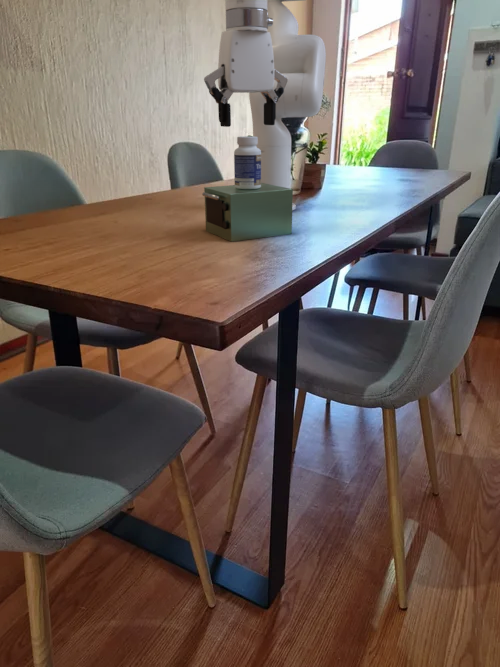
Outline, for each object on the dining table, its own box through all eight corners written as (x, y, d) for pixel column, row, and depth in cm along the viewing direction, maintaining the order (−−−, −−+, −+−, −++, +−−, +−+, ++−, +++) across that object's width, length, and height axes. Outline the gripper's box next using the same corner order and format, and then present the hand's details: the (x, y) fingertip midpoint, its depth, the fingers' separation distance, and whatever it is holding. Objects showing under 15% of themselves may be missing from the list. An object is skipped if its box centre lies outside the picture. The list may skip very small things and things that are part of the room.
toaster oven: (200, 231, 108) (198, 187, 104) (262, 224, 115) (262, 182, 111) (225, 242, 98) (224, 194, 95) (291, 234, 105) (292, 189, 101)
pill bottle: (261, 189, 101) (261, 137, 97) (234, 189, 101) (233, 137, 97) (260, 186, 106) (260, 136, 102) (234, 186, 106) (233, 136, 102)
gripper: (276, 28, 99) (275, 124, 106) (194, 23, 91) (199, 126, 98) (298, 23, 93) (295, 125, 100) (212, 17, 85) (215, 127, 92)
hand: (247, 125), depth 99 cm, fingers open, 9 cm apart
